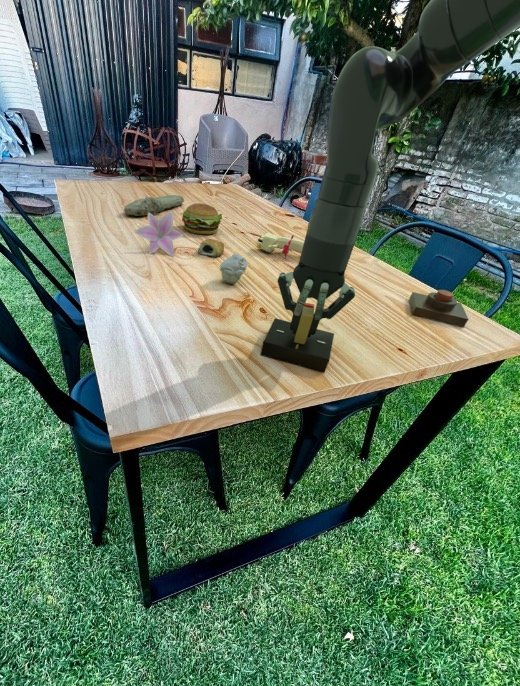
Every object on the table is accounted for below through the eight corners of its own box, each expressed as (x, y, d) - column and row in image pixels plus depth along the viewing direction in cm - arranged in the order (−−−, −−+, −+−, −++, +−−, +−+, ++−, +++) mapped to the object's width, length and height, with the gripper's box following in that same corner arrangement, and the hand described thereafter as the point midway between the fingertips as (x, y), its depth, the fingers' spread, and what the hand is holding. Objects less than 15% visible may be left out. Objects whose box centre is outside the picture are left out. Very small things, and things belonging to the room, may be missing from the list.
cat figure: (332, 263, 112) (258, 241, 114) (343, 235, 106) (265, 213, 108) (330, 274, 104) (252, 250, 107) (342, 244, 98) (259, 220, 101)
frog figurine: (248, 286, 88) (253, 258, 83) (224, 288, 85) (228, 260, 80) (237, 276, 92) (241, 249, 87) (213, 279, 89) (216, 251, 84)
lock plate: (329, 346, 69) (334, 332, 67) (324, 373, 62) (329, 358, 60) (271, 331, 71) (275, 317, 69) (260, 355, 64) (263, 340, 62)
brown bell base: (456, 310, 90) (464, 296, 88) (463, 327, 83) (473, 312, 80) (408, 299, 93) (415, 285, 90) (411, 315, 85) (419, 299, 83)
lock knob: (304, 344, 63) (313, 316, 59) (293, 342, 63) (302, 313, 59) (306, 331, 66) (315, 304, 63) (296, 329, 67) (304, 301, 63)
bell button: (448, 298, 86) (452, 291, 85) (451, 304, 84) (455, 297, 83) (433, 295, 87) (437, 288, 86) (435, 300, 84) (439, 293, 83)
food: (175, 232, 115) (175, 205, 110) (187, 222, 125) (188, 197, 120) (215, 239, 114) (217, 212, 108) (224, 228, 124) (226, 204, 119)
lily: (130, 251, 100) (131, 225, 91) (150, 226, 104) (153, 199, 96) (167, 272, 101) (171, 248, 92) (185, 247, 105) (191, 221, 96)
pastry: (209, 245, 108) (210, 232, 106) (228, 250, 107) (230, 237, 104) (196, 253, 101) (197, 240, 99) (217, 259, 100) (219, 245, 97)
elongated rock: (190, 208, 146) (169, 205, 149) (190, 194, 143) (169, 190, 146) (140, 218, 120) (117, 214, 123) (139, 201, 117) (115, 197, 120)
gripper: (284, 231, 51) (261, 334, 62) (379, 250, 49) (338, 352, 60) (289, 220, 57) (268, 317, 68) (375, 237, 55) (338, 332, 66)
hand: (301, 333), depth 64 cm, fingers closed on lock knob, 2 cm apart
